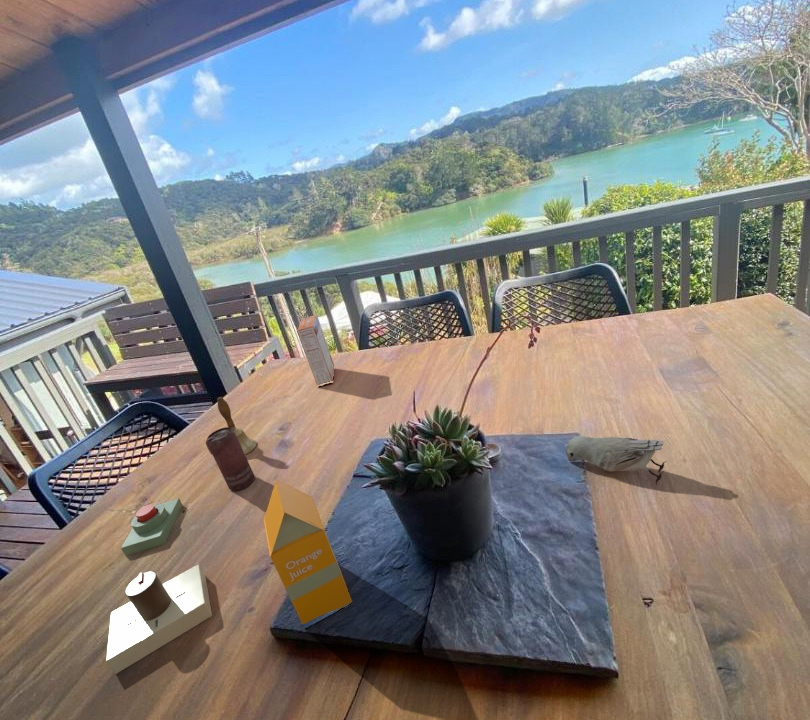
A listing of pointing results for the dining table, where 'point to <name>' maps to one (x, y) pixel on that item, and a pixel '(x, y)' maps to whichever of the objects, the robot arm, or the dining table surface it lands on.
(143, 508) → the button
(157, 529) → the button block
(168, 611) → the panel
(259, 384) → the dining table surface
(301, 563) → the orange juice
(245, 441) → the hand bell
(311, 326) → the cracker box
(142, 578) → the knob
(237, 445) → the can
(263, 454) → the dining table surface
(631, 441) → the decorative bird
